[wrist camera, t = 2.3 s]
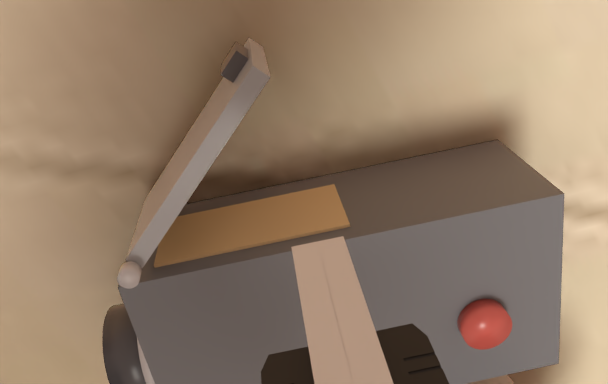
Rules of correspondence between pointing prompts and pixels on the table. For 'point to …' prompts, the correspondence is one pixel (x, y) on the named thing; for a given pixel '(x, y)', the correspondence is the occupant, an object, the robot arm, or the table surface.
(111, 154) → the table surface
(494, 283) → the camera box
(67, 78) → the table surface
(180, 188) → the side door
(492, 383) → the coffee cup
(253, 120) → the table surface
